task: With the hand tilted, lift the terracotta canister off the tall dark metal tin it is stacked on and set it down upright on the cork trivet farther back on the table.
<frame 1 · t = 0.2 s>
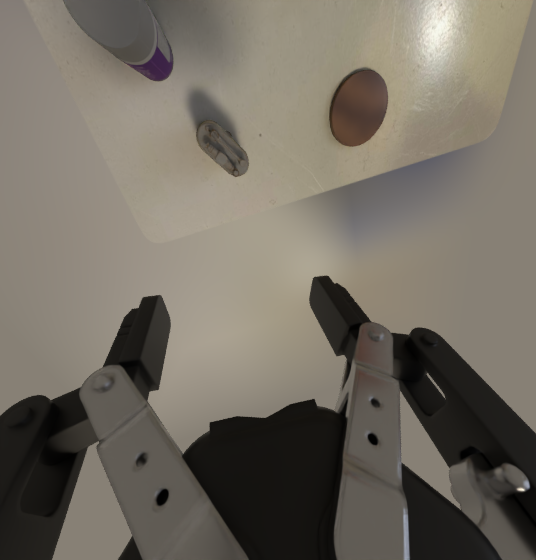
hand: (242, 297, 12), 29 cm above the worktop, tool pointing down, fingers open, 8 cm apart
container: (152, 54, 25), on the worktop
trivet: (357, 111, 33), on the worktop
lighter: (221, 144, 32), on the worktop
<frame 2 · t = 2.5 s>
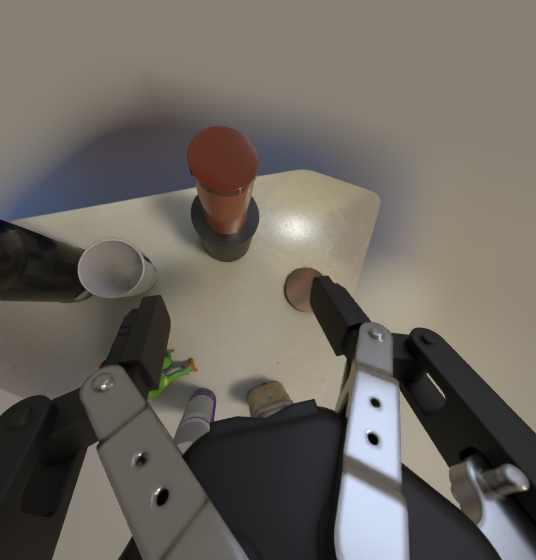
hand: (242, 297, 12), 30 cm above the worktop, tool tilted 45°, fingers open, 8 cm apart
container: (203, 401, 38), on the worktop
tin: (226, 239, 42), on the worktop, touching canister
trivet: (306, 289, 44), on the worktop
canister: (225, 214, 31), point 12 cm above the worktop, touching tin
lighter: (265, 392, 40), on the worktop
toy: (154, 363, 38), on the worktop
cup: (141, 277, 39), on the worktop
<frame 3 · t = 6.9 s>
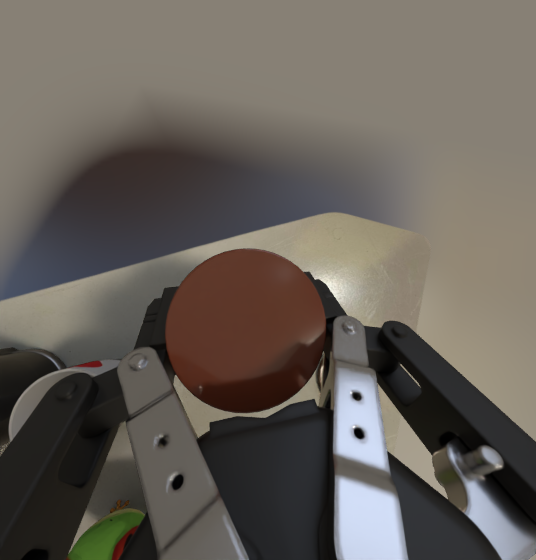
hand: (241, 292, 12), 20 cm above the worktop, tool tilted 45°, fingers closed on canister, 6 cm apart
canister: (240, 317, 20), point 12 cm above the worktop, touching gripper, tin
toy: (143, 507, 27), on the worktop
cup: (124, 380, 28), on the worktop
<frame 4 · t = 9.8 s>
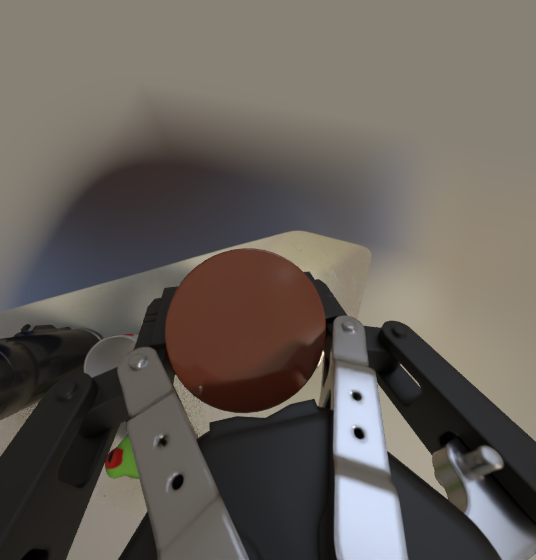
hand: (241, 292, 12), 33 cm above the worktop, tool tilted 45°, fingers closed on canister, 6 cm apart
canister: (240, 317, 20), point 25 cm above the worktop, touching gripper
toy: (157, 435, 39), on the worktop
cup: (144, 350, 41), on the worktop
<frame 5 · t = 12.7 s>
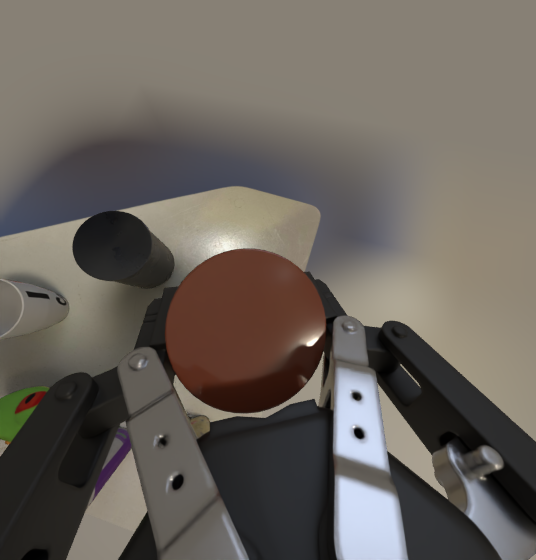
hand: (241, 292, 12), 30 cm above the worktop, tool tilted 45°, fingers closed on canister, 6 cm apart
container: (118, 441, 36), on the worktop
tin: (148, 264, 40), on the worktop
canister: (240, 317, 20), point 22 cm above the worktop, touching gripper
lighter: (190, 428, 37), on the worktop
toy: (64, 402, 35), on the worktop
cup: (53, 309, 37), on the worktop
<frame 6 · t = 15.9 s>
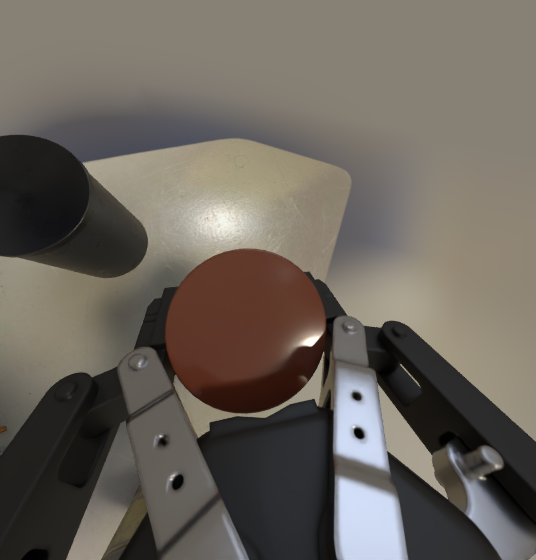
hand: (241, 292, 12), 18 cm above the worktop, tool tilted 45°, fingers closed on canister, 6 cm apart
tin: (109, 242, 28), on the worktop
canister: (240, 317, 20), point 9 cm above the worktop, touching gripper
lighter: (167, 486, 25), on the worktop
when the fingers open (9 cm above the worktop, at t = 18.7 s): canister stays where it is, resting on trivet.
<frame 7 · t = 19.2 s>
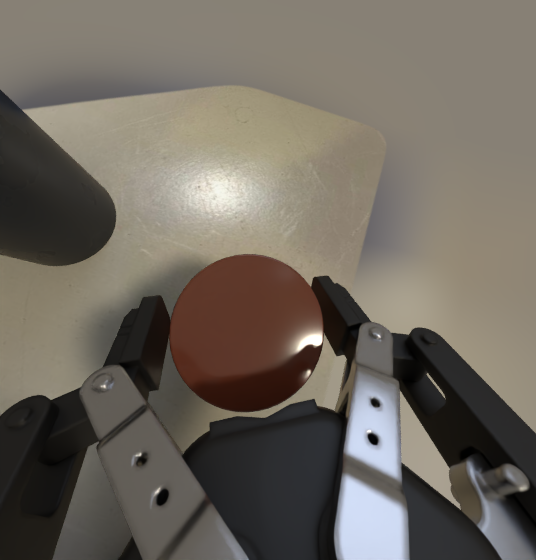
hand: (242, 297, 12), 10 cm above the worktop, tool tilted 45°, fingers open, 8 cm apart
tin: (61, 217, 20), on the worktop
canister: (241, 318, 20), point 1 cm above the worktop, touching trivet
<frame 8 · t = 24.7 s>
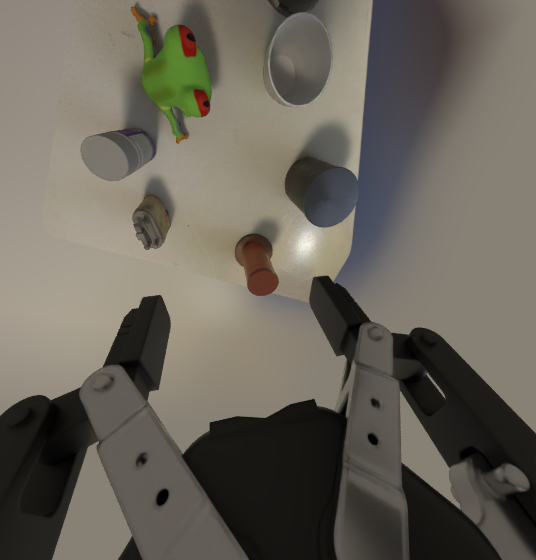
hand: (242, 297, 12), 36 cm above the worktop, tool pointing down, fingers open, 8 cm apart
container: (140, 145, 35), on the worktop
tin: (306, 182, 44), on the worktop
trivet: (253, 251, 51), on the worktop
canister: (253, 253, 51), point 1 cm above the worktop, touching trivet
lighter: (158, 213, 42), on the worktop
toy: (179, 83, 32), on the worktop
cup: (280, 76, 34), on the worktop
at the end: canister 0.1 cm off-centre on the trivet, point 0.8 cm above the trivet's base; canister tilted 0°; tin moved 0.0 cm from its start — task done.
